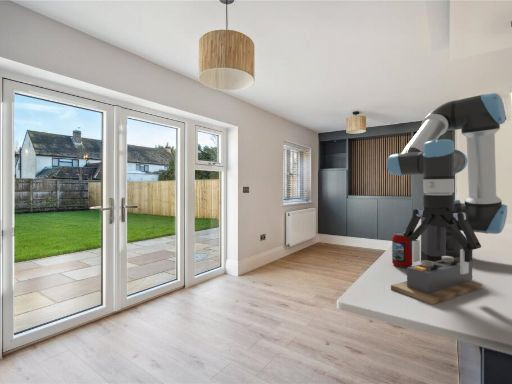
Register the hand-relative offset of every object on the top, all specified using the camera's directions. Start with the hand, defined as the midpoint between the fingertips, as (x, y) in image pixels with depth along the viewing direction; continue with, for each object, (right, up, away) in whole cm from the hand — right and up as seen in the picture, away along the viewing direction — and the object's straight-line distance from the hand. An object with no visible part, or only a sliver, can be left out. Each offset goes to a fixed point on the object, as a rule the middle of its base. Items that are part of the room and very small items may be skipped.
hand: (438, 266), depth 82 cm
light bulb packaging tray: (+1, -5, 0) cm, 5 cm away
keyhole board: (-1, -6, 0) cm, 6 cm away
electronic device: (+12, -6, +22) cm, 26 cm away
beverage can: (+2, -6, +23) cm, 24 cm away
